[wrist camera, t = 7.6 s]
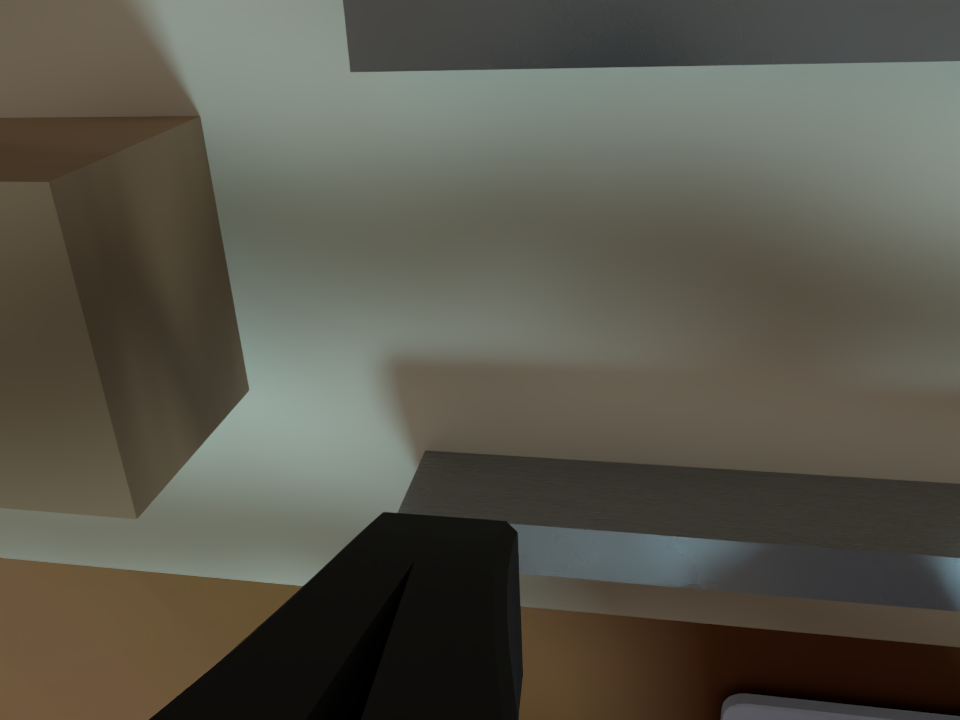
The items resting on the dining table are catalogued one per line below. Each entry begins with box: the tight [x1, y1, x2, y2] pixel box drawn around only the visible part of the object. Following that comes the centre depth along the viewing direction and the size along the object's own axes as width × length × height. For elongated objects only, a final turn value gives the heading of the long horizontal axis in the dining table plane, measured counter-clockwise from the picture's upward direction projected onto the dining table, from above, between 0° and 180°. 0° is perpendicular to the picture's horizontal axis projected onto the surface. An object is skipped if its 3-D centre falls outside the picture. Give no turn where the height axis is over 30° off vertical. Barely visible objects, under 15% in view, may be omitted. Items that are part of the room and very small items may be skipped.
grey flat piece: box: [0, 0, 960, 647], centre depth 15 cm, size 14×28×2 cm, turn 93°
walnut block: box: [0, 116, 249, 519], centre depth 14 cm, size 5×5×4 cm
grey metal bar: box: [343, 0, 960, 612], centre depth 13 cm, size 9×10×2 cm
